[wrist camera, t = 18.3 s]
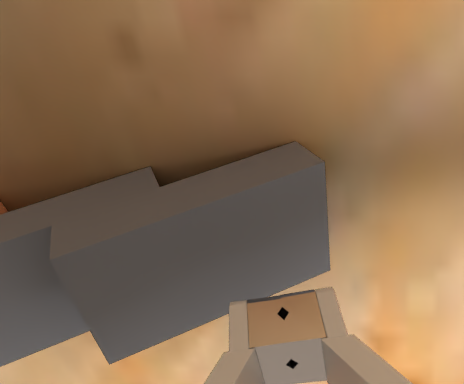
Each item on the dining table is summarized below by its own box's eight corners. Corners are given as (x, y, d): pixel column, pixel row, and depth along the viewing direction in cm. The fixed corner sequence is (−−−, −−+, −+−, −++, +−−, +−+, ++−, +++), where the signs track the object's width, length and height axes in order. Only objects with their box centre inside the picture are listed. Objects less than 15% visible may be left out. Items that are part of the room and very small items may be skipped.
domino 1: (181, 260, 18) (-28, 340, 16) (150, 166, 15) (-105, 248, 13) (192, 289, 16) (-39, 382, 14) (160, 189, 13) (-130, 286, 12)
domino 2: (305, 242, 17) (104, 323, 15) (295, 141, 15) (51, 223, 13) (330, 269, 16) (109, 364, 14) (324, 161, 13) (49, 259, 11)
